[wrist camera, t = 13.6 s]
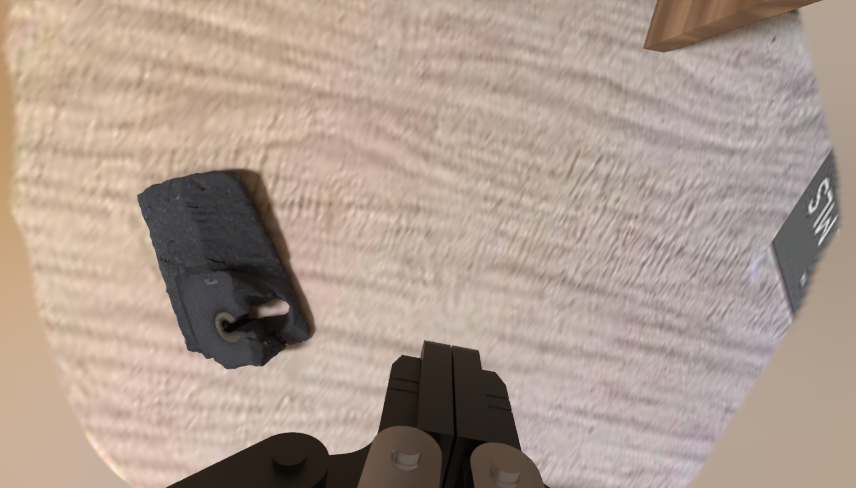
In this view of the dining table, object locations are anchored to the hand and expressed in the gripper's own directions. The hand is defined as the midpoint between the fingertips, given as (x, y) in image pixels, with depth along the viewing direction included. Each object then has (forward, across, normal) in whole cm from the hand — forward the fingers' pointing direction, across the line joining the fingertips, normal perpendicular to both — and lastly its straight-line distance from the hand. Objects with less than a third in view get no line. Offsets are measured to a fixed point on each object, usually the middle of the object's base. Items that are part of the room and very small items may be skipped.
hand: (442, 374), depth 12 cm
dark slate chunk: (+35, +22, +14) cm, 44 cm away
